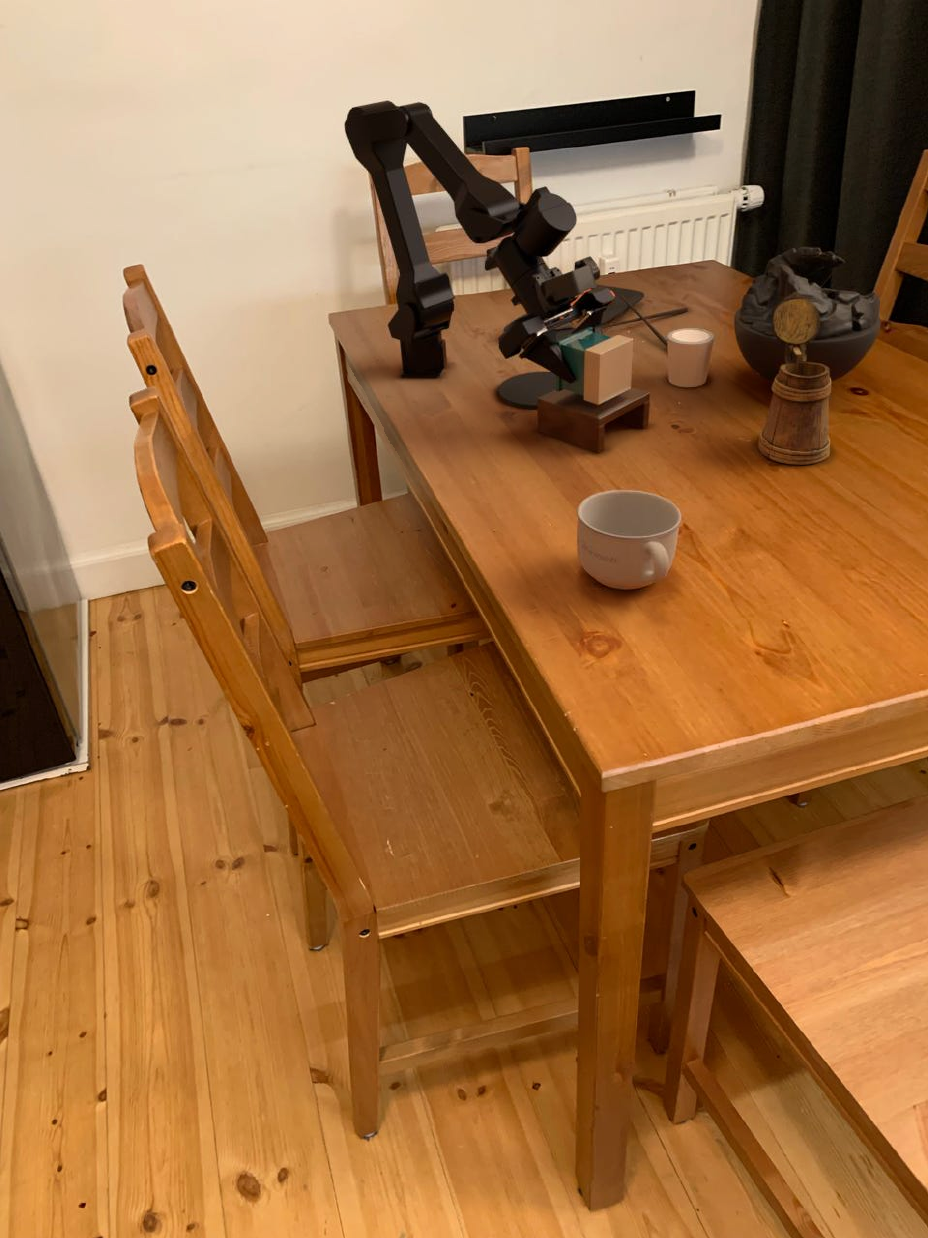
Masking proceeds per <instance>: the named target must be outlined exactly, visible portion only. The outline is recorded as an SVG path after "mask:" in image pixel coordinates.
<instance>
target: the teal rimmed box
mask: <svg viewBox="0 0 928 1238" xmlns="http://www.w3.org/2000/svg"><path fill="white" fill-rule="evenodd" d="M592 330H593V328H592V327H588V328H585V329H583V330H581V331H579V332H576V333H574V334H572V335H569V336H567V337H565V338H562V339H560V340H558V341H556V342H557V345H558V347H559V348H560V350H561V352H562V354H563V355H564V357H565V359H566V360H567V362H568V364H569V366H570V367H571V369H572V371H573V373H574V376H575V378H576V380H575V381H574V382H573V383H571V384H570V383H568V382H566V381H565V380H563V379H562V378H560V377H558V376H557V375H556V391H558V392H559V391H561V390H563V389H565V390H568V391H571V392H574V393H577V394H580V395H583V396H584V400H585V401H588V402H591V403H594V404H597V405H599V404H601V403H603V402H605V401H607V400H609V399H611V398H613V397H615V396H617V395H619V394H621V393H623V392H625V391H627V390H629V389H631V387H632V375H633V359H634V358H633V356H634V354H633V353H634V338H632V337H628V336H625V335H621V334H617V335H615V336H609V335H606V334H603V333H602V334H603V335H602V334H599V333H595V332H592Z"/></svg>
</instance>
